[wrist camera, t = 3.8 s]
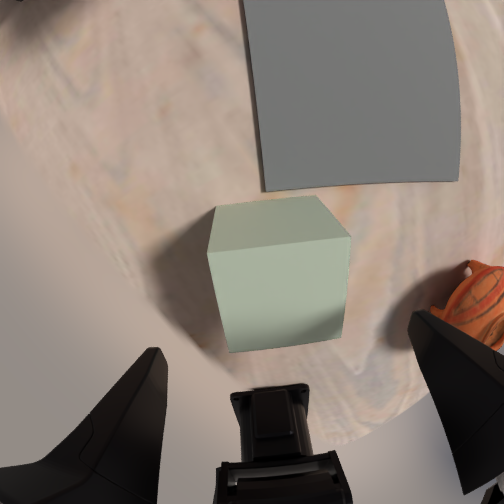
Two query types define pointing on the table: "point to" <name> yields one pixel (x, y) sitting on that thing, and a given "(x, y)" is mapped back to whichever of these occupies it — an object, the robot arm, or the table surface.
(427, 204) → the table surface
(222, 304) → the sage block
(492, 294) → the pot
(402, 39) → the charcoal mat
